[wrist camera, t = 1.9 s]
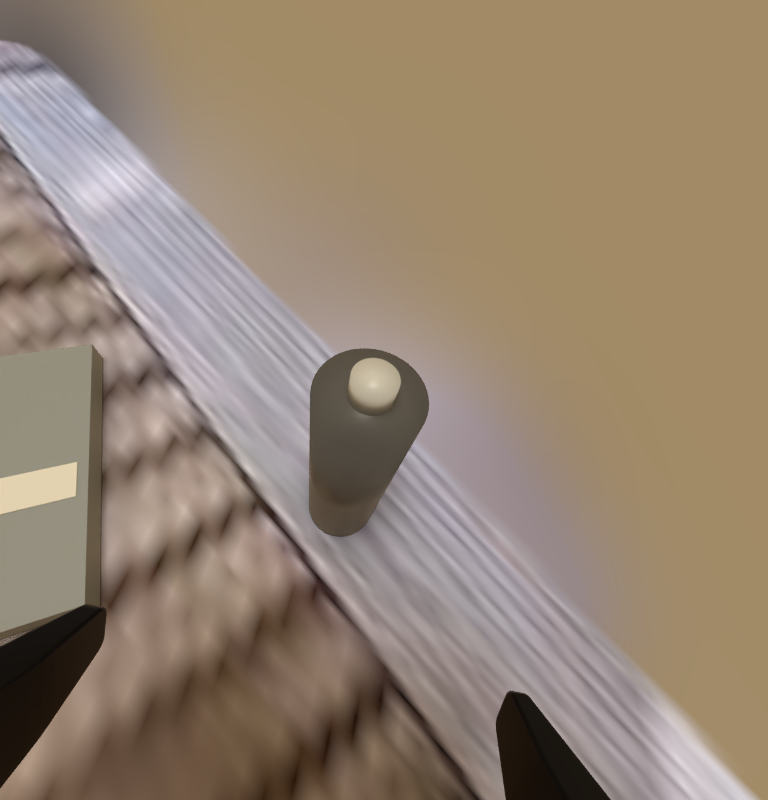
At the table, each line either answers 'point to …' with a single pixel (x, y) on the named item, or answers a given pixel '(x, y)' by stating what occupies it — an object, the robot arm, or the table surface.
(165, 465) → the table surface
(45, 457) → the board
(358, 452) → the bottle
